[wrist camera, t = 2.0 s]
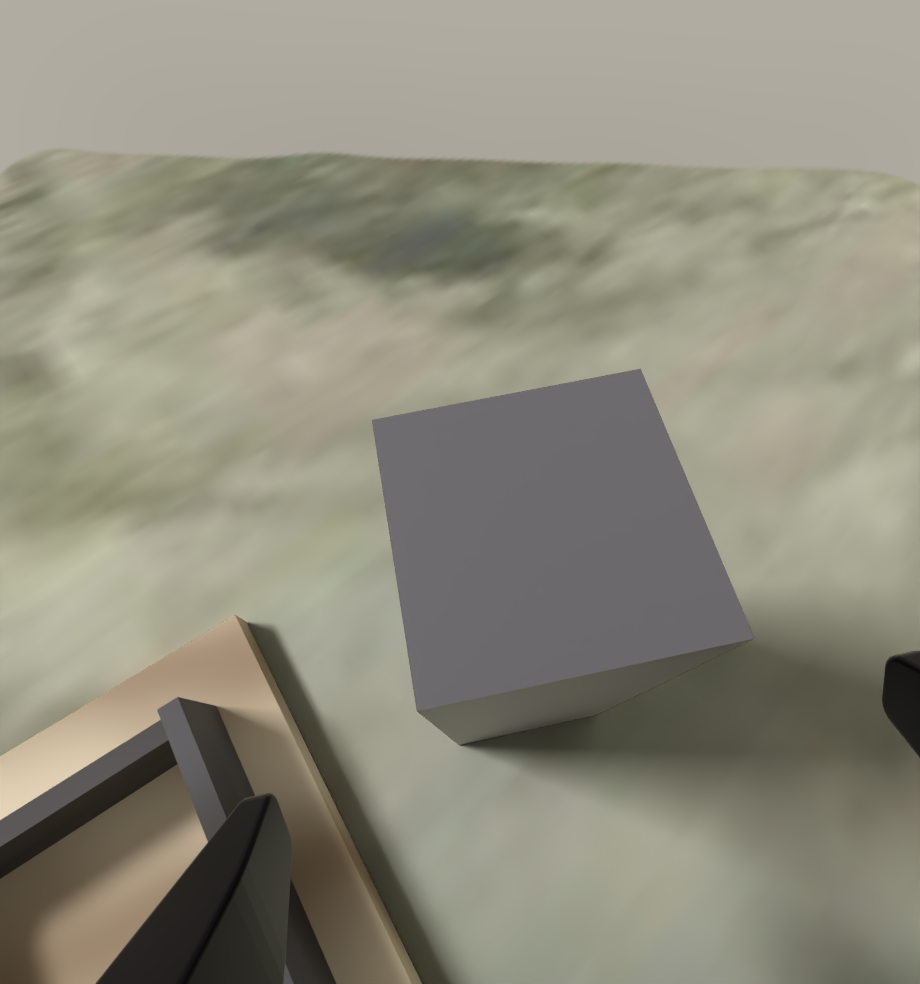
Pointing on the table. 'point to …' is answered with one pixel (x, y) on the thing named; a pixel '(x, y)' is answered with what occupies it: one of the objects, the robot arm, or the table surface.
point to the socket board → (175, 821)
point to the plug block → (548, 556)
